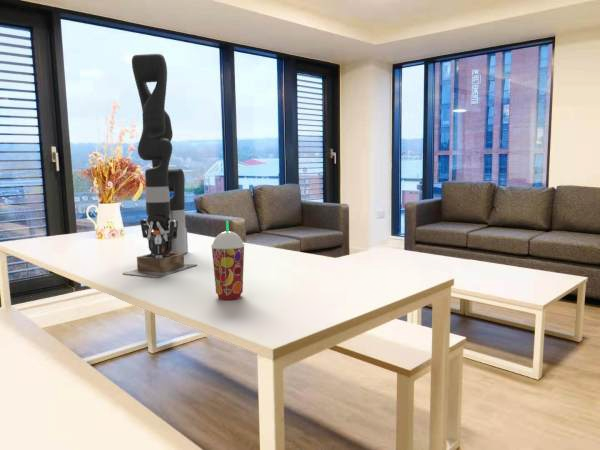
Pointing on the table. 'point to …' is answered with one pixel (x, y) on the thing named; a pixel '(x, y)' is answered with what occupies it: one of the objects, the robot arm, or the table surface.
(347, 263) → the table surface
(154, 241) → the pill bottle
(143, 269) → the well
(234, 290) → the smoothie
